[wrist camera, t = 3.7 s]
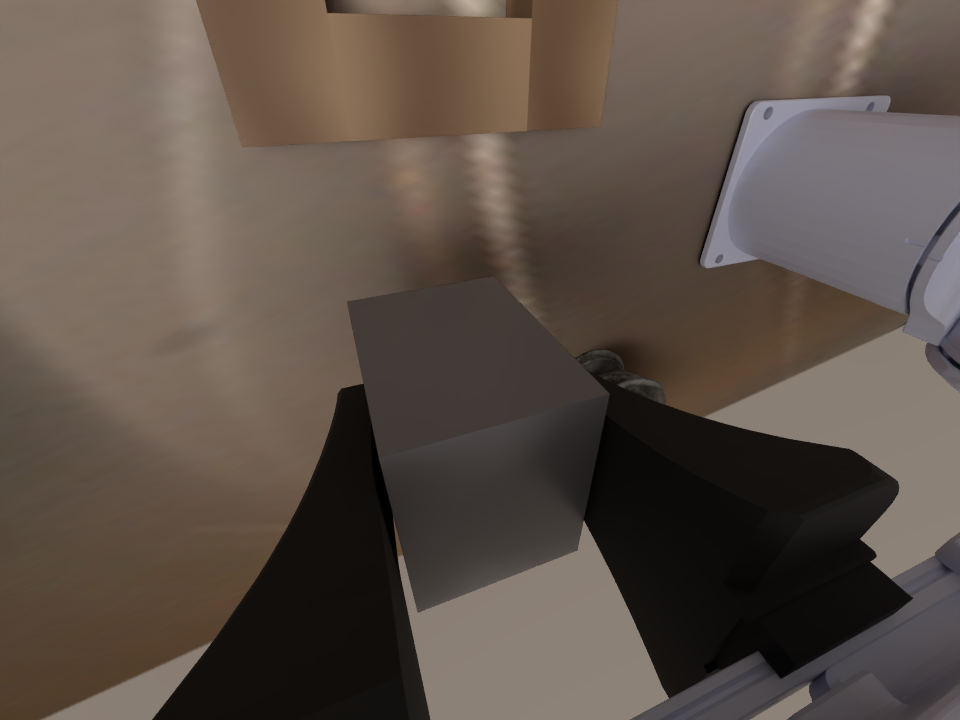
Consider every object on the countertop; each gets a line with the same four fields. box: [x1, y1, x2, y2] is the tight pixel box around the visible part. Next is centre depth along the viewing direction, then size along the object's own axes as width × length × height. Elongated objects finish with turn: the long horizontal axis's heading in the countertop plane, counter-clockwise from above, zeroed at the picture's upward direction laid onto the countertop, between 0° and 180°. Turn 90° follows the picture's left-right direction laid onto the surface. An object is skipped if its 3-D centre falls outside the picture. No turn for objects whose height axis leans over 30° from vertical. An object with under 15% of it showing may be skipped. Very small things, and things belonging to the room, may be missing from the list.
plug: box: [347, 276, 610, 612], centre depth 10 cm, size 4×5×6 cm
